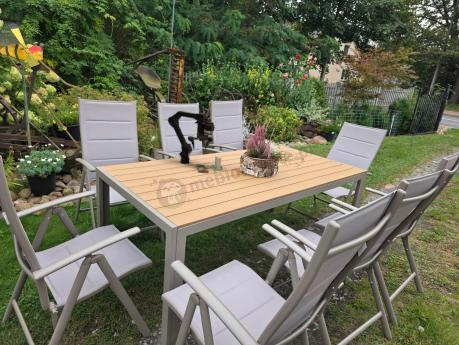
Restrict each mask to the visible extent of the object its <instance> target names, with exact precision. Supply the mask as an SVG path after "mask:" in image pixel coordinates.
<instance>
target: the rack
mask: <svg viewBox="0 0 459 345" xmlns="http://www.w3.org/2000/svg"><path fill="white" fill-rule="evenodd" d="M195 167H196V169H197V171H198V170H199V169H201V168H202V169H207V167H206V166H205V165H204V164H195Z"/></svg>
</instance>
